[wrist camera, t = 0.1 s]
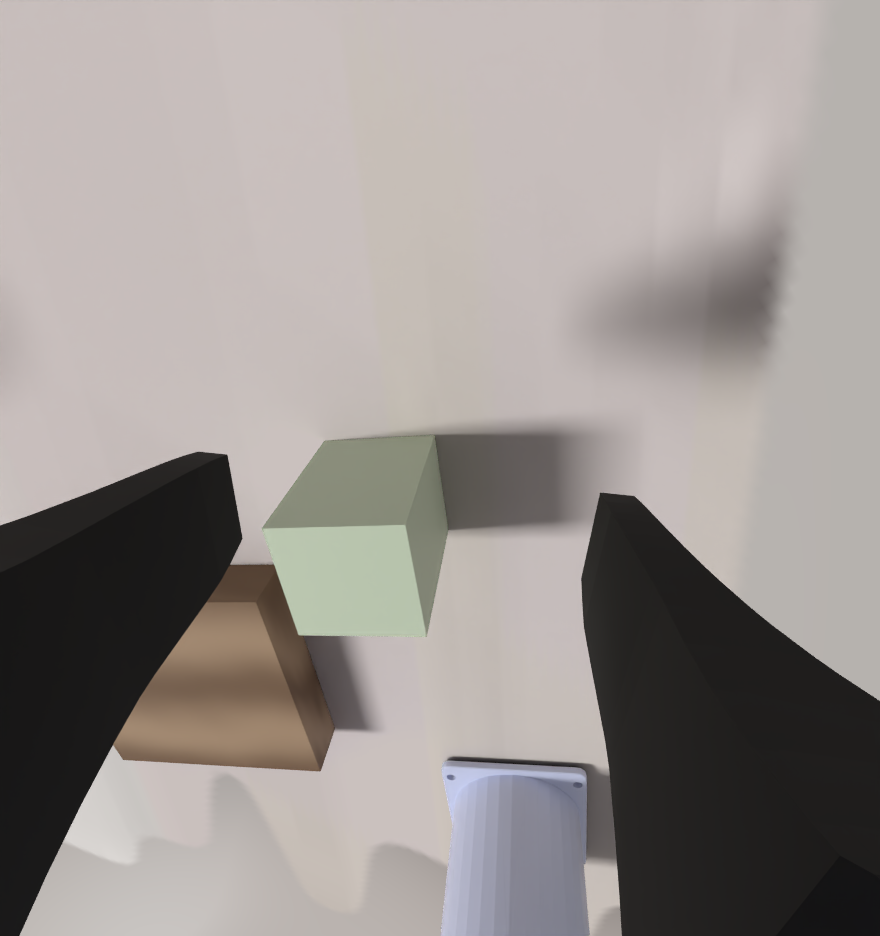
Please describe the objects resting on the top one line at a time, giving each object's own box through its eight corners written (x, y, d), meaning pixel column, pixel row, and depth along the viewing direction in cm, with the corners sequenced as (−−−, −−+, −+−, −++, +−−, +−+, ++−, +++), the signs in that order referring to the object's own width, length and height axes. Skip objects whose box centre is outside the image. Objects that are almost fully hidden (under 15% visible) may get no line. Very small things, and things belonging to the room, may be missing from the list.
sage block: (448, 529, 23) (426, 637, 18) (347, 532, 24) (298, 635, 18) (434, 434, 21) (405, 524, 16) (324, 440, 21) (261, 528, 16)
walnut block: (337, 720, 31) (320, 771, 29) (154, 713, 33) (123, 759, 31) (282, 557, 26) (255, 602, 23) (66, 561, 28) (19, 602, 25)
